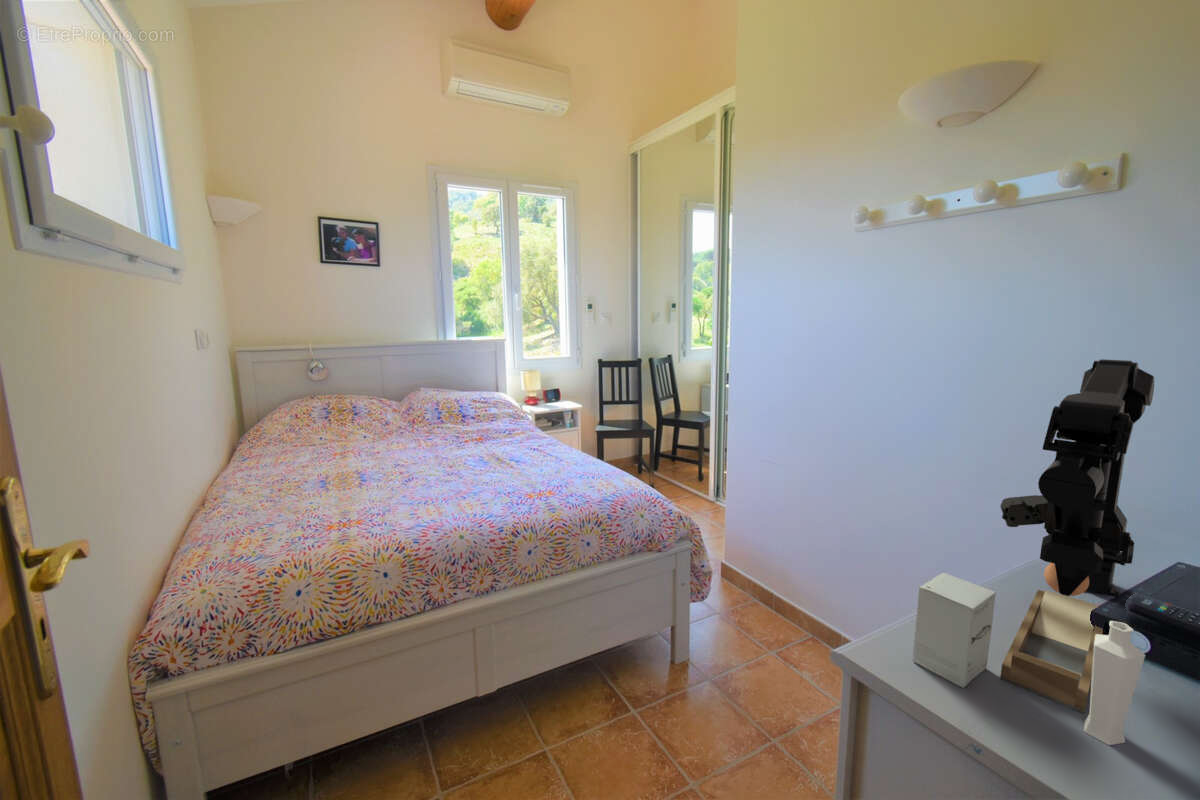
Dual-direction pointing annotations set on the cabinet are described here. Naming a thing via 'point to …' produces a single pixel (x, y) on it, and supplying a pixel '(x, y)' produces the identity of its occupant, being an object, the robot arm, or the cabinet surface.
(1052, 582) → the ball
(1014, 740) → the cabinet surface
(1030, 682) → the wooden tray
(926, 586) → the supplement box
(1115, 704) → the perfume bottle
